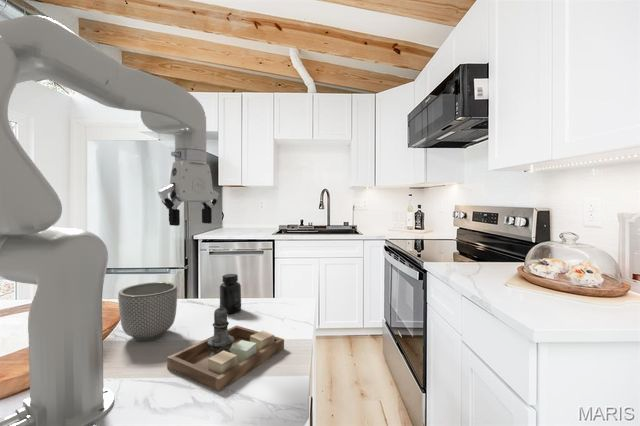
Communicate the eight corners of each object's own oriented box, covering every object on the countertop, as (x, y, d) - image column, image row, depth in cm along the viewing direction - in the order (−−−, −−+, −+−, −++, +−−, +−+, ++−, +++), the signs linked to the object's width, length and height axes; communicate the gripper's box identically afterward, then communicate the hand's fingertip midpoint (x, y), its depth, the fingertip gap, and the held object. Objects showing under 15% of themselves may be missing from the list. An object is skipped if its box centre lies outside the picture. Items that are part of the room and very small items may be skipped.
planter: (124, 330, 87) (123, 284, 86) (178, 322, 92) (178, 279, 92) (113, 352, 74) (112, 298, 74) (177, 342, 80) (176, 292, 79)
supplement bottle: (237, 306, 108) (237, 272, 107) (244, 312, 102) (244, 275, 102) (217, 310, 104) (216, 274, 103) (223, 316, 98) (223, 278, 98)
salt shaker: (226, 363, 68) (226, 309, 68) (202, 360, 70) (201, 307, 69) (238, 350, 74) (238, 301, 74) (216, 348, 75) (215, 299, 75)
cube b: (246, 369, 66) (246, 351, 66) (230, 365, 67) (230, 347, 67) (256, 360, 70) (256, 343, 70) (241, 357, 71) (241, 340, 71)
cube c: (261, 357, 71) (261, 340, 71) (249, 352, 73) (249, 335, 73) (274, 351, 74) (274, 334, 74) (262, 346, 77) (262, 330, 76)
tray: (219, 394, 58) (219, 379, 58) (167, 370, 66) (167, 357, 66) (284, 351, 75) (284, 339, 75) (236, 336, 84) (236, 325, 83)
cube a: (221, 384, 61) (221, 363, 61) (208, 378, 63) (208, 358, 63) (237, 374, 64) (237, 355, 64) (223, 368, 66) (223, 350, 66)
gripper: (168, 152, 71) (169, 227, 72) (226, 161, 86) (227, 223, 87) (149, 155, 75) (150, 225, 75) (208, 163, 90) (208, 222, 90)
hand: (191, 224), depth 81 cm, fingers open, 9 cm apart
